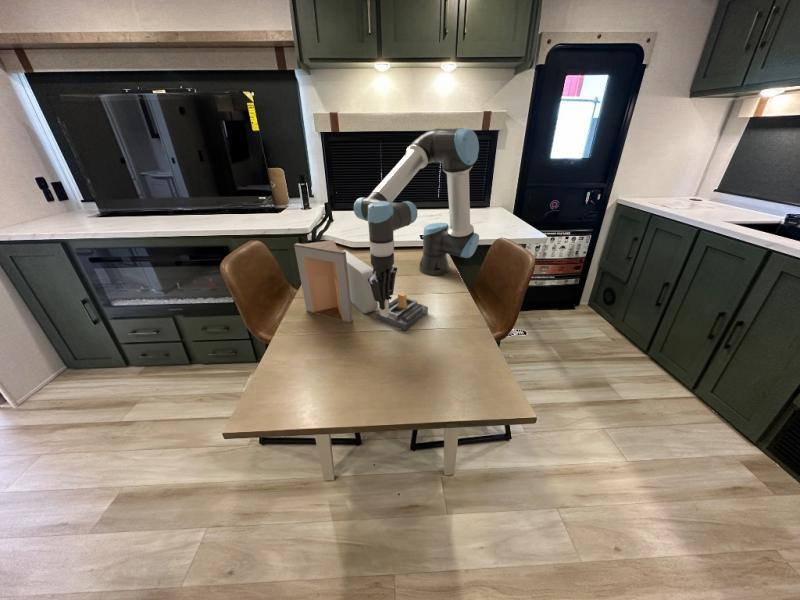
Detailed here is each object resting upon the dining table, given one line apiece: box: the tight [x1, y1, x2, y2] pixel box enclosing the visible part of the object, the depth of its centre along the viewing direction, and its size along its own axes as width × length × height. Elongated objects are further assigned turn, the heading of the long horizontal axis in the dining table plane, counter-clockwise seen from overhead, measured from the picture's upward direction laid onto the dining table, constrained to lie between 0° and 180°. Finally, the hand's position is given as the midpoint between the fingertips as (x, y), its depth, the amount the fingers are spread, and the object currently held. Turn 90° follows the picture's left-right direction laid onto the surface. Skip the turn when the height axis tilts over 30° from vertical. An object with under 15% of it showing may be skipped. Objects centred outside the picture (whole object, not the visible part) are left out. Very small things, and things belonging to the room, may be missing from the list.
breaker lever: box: [397, 292, 408, 311], centre depth 118 cm, size 3×3×6 cm
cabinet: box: [294, 239, 354, 324], centre depth 118 cm, size 21×10×28 cm, turn 65°
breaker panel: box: [374, 297, 429, 332], centre depth 120 cm, size 15×14×4 cm
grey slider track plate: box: [389, 297, 423, 321], centre depth 119 cm, size 11×12×1 cm
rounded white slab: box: [342, 249, 379, 314], centre depth 129 cm, size 29×8×18 cm, turn 34°
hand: (384, 315), depth 111 cm, fingers closed
